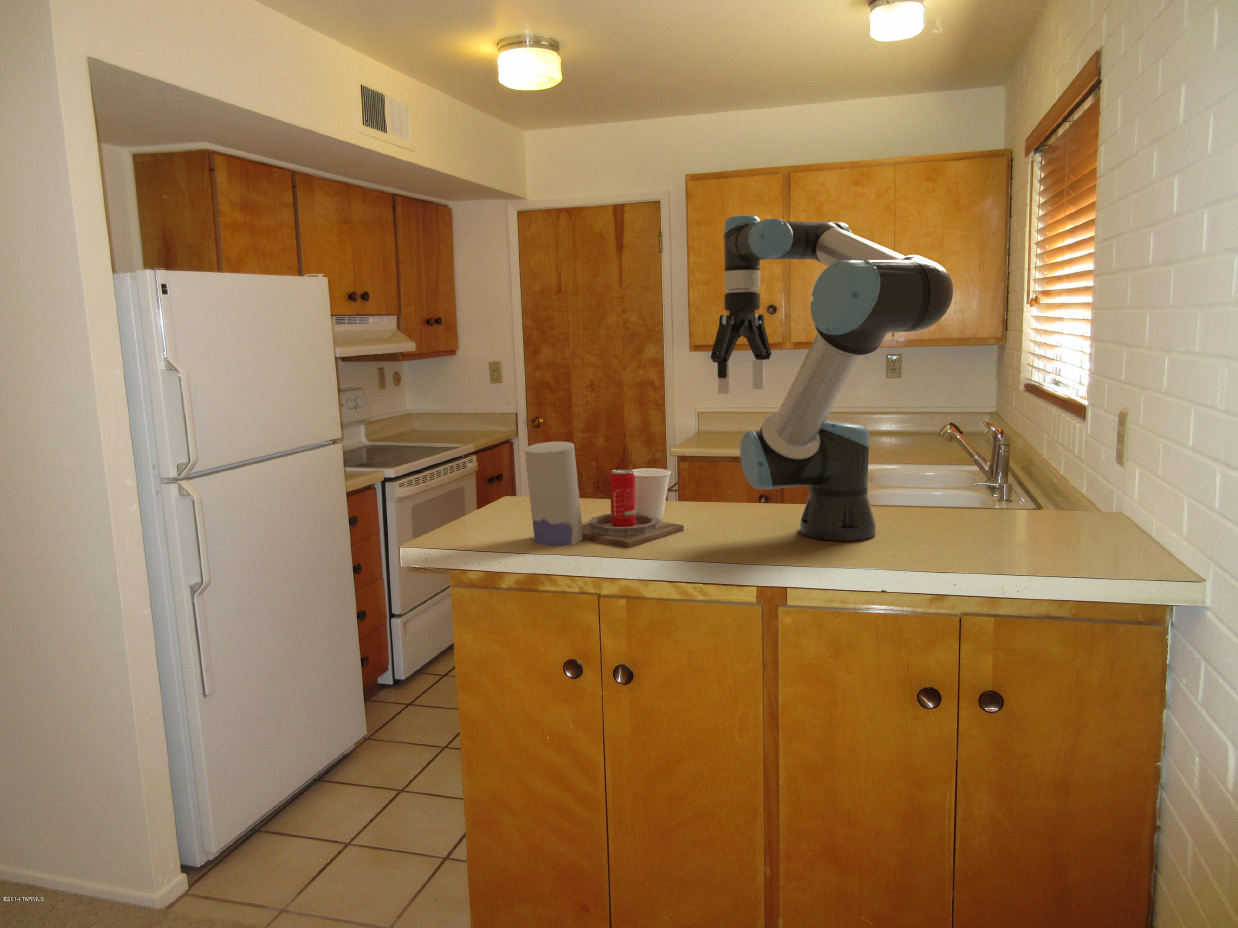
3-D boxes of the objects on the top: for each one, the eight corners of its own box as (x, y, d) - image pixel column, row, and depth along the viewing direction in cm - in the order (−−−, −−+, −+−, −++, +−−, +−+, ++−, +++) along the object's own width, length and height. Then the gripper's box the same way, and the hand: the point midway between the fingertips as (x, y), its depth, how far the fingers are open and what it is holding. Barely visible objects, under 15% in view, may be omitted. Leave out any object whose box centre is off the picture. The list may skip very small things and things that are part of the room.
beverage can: (615, 531, 177) (613, 474, 175) (608, 525, 182) (607, 470, 180) (638, 529, 179) (637, 472, 177) (631, 523, 183) (630, 468, 182)
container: (591, 534, 178) (582, 441, 174) (568, 550, 170) (558, 452, 165) (549, 531, 183) (540, 440, 178) (525, 546, 174) (515, 451, 169)
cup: (672, 524, 187) (671, 475, 186) (627, 525, 187) (626, 476, 186) (670, 514, 197) (669, 467, 195) (627, 515, 197) (626, 468, 196)
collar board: (683, 530, 181) (683, 518, 181) (628, 548, 168) (628, 534, 168) (619, 519, 193) (619, 507, 193) (563, 535, 180) (563, 522, 179)
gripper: (758, 293, 193) (757, 387, 196) (693, 291, 175) (694, 395, 178) (787, 292, 188) (786, 388, 192) (724, 289, 170) (724, 396, 173)
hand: (742, 391), depth 185 cm, fingers open, 13 cm apart
